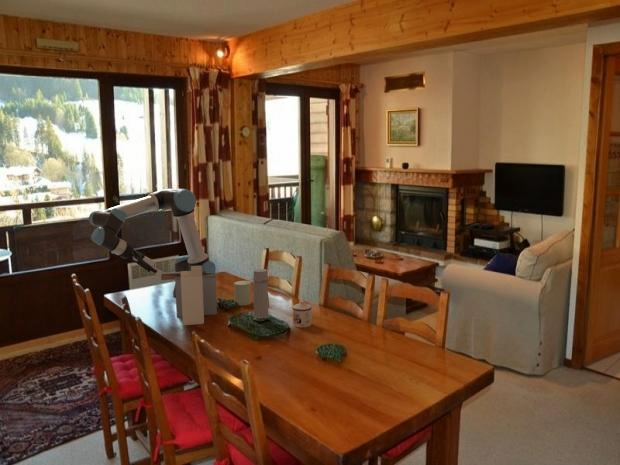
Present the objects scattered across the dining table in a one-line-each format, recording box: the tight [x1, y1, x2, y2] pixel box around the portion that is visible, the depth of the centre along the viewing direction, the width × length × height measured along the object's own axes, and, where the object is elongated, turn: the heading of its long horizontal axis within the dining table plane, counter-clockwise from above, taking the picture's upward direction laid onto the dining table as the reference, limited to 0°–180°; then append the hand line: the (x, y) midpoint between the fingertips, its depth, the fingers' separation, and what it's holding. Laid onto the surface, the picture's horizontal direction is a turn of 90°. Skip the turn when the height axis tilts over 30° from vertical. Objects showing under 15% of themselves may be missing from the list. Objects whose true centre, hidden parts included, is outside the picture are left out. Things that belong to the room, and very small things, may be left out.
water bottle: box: [252, 268, 270, 318], centre depth 262 cm, size 9×8×25 cm
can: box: [233, 280, 252, 307], centre depth 293 cm, size 9×9×12 cm
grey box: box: [174, 271, 218, 318], centre depth 273 cm, size 7×20×20 cm, turn 103°
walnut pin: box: [160, 271, 206, 281], centre depth 270 cm, size 3×22×3 cm, turn 102°
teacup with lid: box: [292, 300, 313, 329], centre depth 254 cm, size 12×9×12 cm
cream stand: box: [181, 266, 205, 326], centre depth 260 cm, size 10×10×27 cm
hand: (157, 269), depth 271 cm, fingers open, 13 cm apart
